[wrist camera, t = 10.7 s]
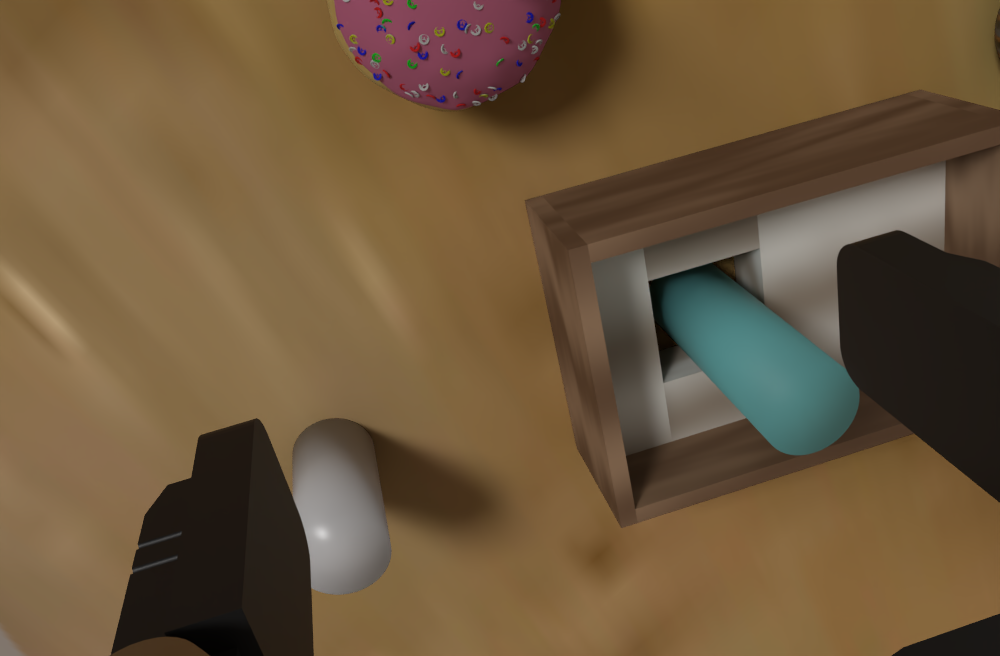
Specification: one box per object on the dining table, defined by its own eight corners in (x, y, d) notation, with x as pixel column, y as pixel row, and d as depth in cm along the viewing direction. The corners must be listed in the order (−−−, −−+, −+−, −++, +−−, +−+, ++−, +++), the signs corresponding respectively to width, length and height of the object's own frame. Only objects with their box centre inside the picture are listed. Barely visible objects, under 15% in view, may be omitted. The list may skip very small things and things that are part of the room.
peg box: (525, 200, 40) (568, 250, 34) (920, 89, 42) (1028, 117, 36) (576, 448, 47) (621, 528, 40) (919, 341, 49) (1012, 401, 43)
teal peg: (642, 269, 43) (758, 381, 33) (718, 246, 44) (858, 350, 33) (653, 339, 45) (767, 467, 34) (726, 317, 45) (861, 437, 35)
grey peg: (281, 432, 43) (280, 533, 36) (361, 408, 43) (376, 503, 36) (306, 497, 44) (310, 606, 37) (383, 473, 45) (402, 577, 38)
